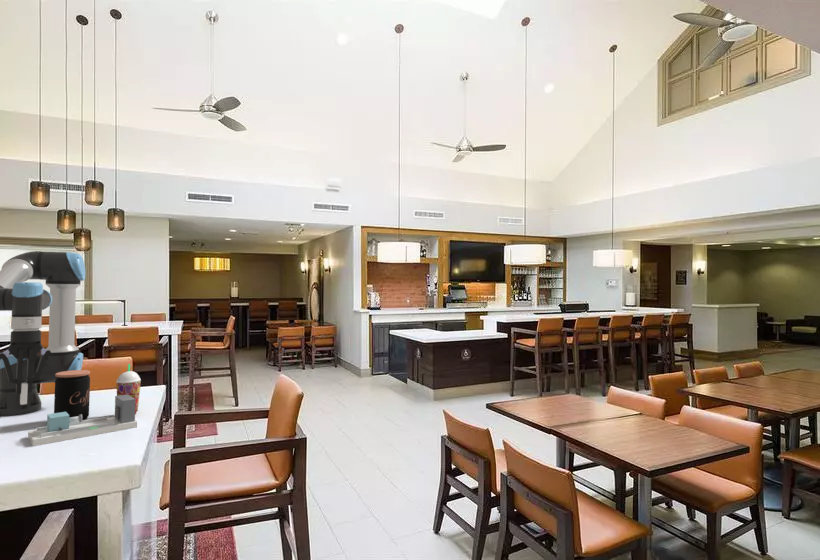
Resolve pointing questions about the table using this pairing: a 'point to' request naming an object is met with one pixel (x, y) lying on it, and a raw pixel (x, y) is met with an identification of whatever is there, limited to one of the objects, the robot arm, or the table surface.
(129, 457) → the table surface
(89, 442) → the table surface
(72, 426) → the board
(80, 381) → the coffee jar
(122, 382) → the smoothie
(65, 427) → the gauge slider
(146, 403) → the table surface
